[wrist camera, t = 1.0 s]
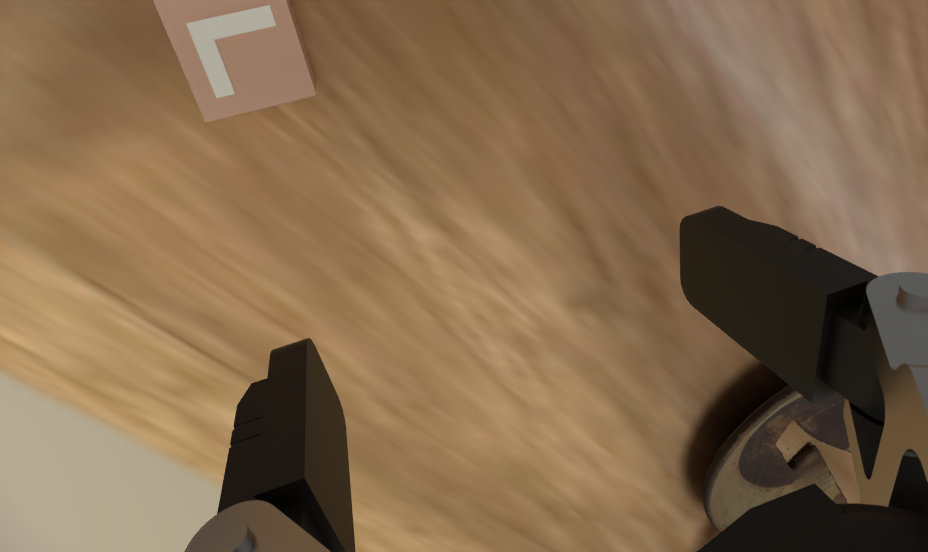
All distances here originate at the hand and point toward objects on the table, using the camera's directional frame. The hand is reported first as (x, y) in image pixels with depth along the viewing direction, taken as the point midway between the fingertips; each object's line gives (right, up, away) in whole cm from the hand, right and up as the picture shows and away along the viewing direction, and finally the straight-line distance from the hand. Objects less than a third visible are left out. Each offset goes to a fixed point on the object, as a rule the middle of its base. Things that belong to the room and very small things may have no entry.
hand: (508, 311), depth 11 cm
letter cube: (-12, +13, +16) cm, 24 cm away
